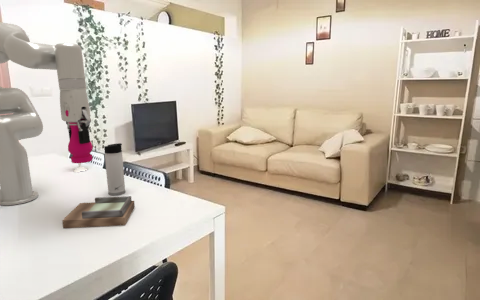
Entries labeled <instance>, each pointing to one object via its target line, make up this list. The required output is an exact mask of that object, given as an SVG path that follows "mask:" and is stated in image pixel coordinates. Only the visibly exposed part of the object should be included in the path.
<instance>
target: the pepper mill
mask: <svg viewBox="0 0 480 300" xmlns="http://www.w3.org/2000/svg"><path fill="white" fill-rule="evenodd" d="M68 112H69V111H68V110H66V111H65V113H66V116H67V117H68V114H69V113H68ZM83 120H84V119H80V121H83ZM82 124H83V123H81V126H82ZM69 125H70V126H71V132H72V134H71V138H70V139H69V142H68V144H67V145H68V146H67V147H68V148H67V151H68V153H70V154H71V156H70V160H71V161H70V162H71V163H72V164H78V163H81V164H83V163H84V164H85V163H90V162H92V161H93V160H94V158H93V154H91V153H92V151H93V149H94V146H93V143H92V141H91V140H90V142H89V143H83V144H80V143H79V135H78V131H79V128H78V124H77V122H69Z"/></svg>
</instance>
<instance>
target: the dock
mask: <svg viewBox="0 0 480 300" xmlns="http://www.w3.org/2000/svg"><path fill="white" fill-rule="evenodd" d="M132 199H133V198H132V196H131V195H130V196H129V195H126V196H103V197H100V196H98V197H95V198H94V202H80V203H78V204H77V205H76V206H75V207H74V208H73V209H72V210H71V211H70V212H69V213H68V214H67V215H66V216H65V217H64V218H63V219H62V220H61V221H62V223H61V224H62V228H63V229H72V228H73V229H74V228H78V229H79V228H92V227H93V228H95V227H97V228H98V227H111V226H112V227H113V226H126V224H127V222H128V221H129V219H130V217H131V216H132V213H133V211H134V210H135V200H132Z"/></svg>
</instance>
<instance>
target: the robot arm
mask: <svg viewBox="0 0 480 300" xmlns="http://www.w3.org/2000/svg"><path fill="white" fill-rule="evenodd" d="M82 51H83V50H82V47H81V46H80V45H79V44H76V43H70V42H69V43H68V42H66V43H65V42H64V43H55V44H46V43H38V42H31V41H30V38H29V37H28V34H27V33H26V31H25V30H24V29H23V28H22V27H21V26H19V25H17V24H14V23H7V22H1V21H0V64H4V63H7V62H9V61H11V62H12V63H15V64H17V65H20V66H22V67H24V68H28V69H32V70H49V71H50V70H54V71H56V73H57V82H58V89H59V105H60V106H59V107H60V109H59V110H60V116H61V117H60V118H61V120H62V121H64V122H65V123H66V125H67V127H66V129H67V131H68V138H69V140H70V138H71V134H72V132H71V126H70V125H69V122H77V124H78V128H79V131H78V135H79V143H80V144H83V143H89V142H90V141H91V138H90V137H91V136H90V124H91V122H92V119H91V109H90V104H89V99H88V94H87V91H86V90H87V84H86V74H85V67H84V60H83V59H84V58H83V52H82ZM66 110H68V111H69V112H68V113H69V114H68V117H67V116H66V113H65V111H66ZM80 119H84V120H83V121H80ZM81 123H83V124H82V126H81ZM43 131H44V125H43V121H42V119H41V117H40V115H39V114H38V111H37V110H36V108H35V106H34V104H33V102H32V100H31V99H30V97H29V96H28V94H27V93H26V92H25V91H24V90H22V89H19V88H18V87H3V86H0V205H1V206H14V205H21V204H25V203H28V202H31V201H33V200H36V199H37V198H38V197H39V193H38V192H37V191H35V190H33V185H32V184H33V183H32V177H31V170H30V164H29V163H30V162H29V157H28V152H27V149H26V148H25V147H24V146H23V145H22V143H20V140H21V141H22V140H25V139H26V140H27V139H31V138H35V137H39V136H40V135H41V134H42V133H43Z"/></svg>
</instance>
